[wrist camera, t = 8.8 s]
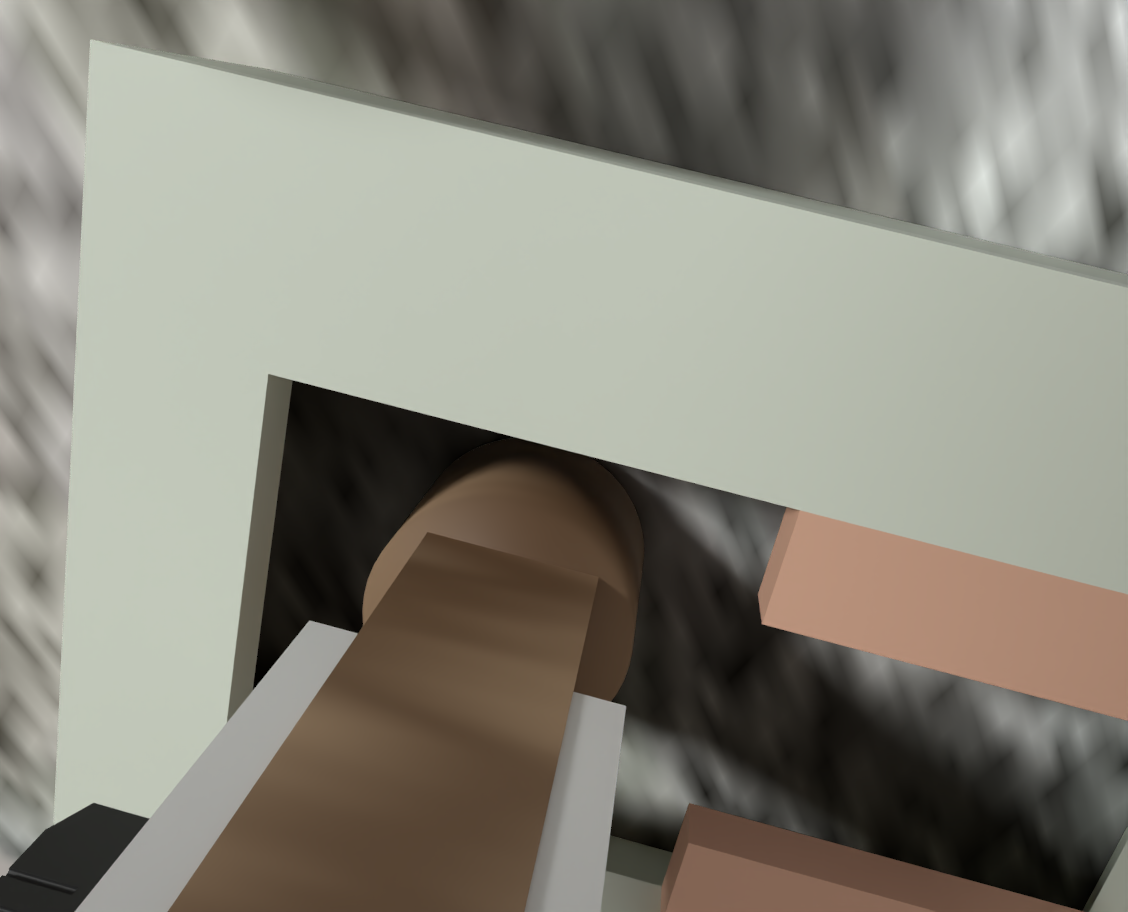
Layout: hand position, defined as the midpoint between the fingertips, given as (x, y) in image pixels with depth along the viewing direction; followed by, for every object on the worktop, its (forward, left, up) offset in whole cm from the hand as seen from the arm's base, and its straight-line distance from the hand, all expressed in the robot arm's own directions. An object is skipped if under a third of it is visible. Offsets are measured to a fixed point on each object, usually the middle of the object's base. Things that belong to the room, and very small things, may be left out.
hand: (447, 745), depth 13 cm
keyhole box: (+4, 0, -7) cm, 8 cm away
